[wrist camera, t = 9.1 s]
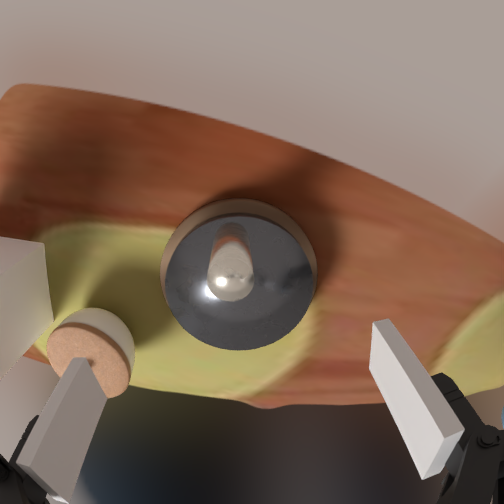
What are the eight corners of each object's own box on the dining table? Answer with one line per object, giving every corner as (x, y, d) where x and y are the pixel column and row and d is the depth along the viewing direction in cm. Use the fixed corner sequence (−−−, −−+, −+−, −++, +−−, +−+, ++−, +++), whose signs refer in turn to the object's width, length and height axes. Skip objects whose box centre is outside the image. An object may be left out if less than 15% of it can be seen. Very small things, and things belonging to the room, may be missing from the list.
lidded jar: (142, 299, 37) (120, 346, 28) (146, 366, 40) (130, 416, 32) (66, 287, 36) (30, 326, 27) (77, 353, 39) (52, 396, 31)
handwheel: (311, 330, 36) (334, 396, 26) (184, 345, 36) (171, 414, 26) (305, 204, 31) (338, 239, 21) (155, 223, 31) (119, 266, 21)
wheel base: (311, 329, 39) (314, 338, 37) (176, 338, 39) (174, 347, 37) (313, 193, 33) (318, 197, 31) (153, 204, 33) (148, 209, 31)
